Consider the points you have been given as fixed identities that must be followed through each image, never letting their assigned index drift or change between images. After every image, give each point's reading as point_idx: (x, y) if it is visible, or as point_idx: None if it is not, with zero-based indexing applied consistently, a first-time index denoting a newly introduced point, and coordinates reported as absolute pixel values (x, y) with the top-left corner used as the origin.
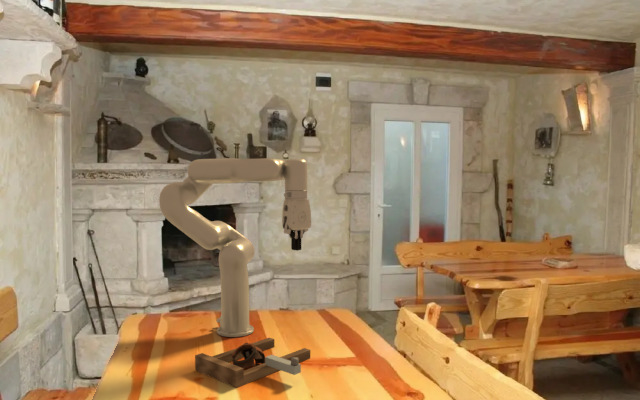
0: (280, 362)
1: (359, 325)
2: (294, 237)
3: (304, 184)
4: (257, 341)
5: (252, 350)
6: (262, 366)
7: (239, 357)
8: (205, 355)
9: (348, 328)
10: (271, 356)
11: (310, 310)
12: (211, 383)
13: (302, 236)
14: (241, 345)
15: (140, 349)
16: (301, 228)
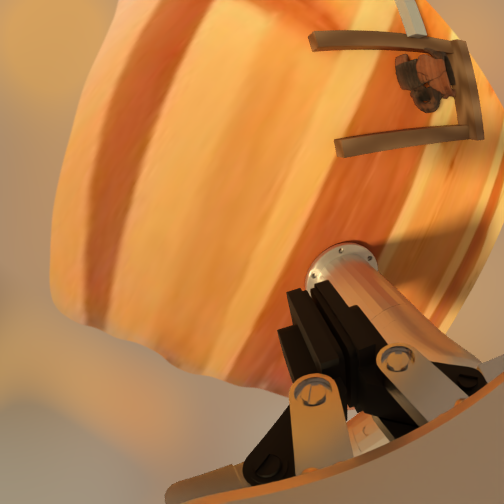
0: (415, 2)
1: (69, 169)
2: (411, 359)
3: None
4: (376, 151)
5: (424, 86)
6: (421, 40)
7: (414, 128)
8: (477, 126)
9: (102, 160)
10: (418, 28)
11: (118, 333)
12: None
13: (295, 394)
14: (451, 90)
15: (467, 269)
16: (447, 424)
